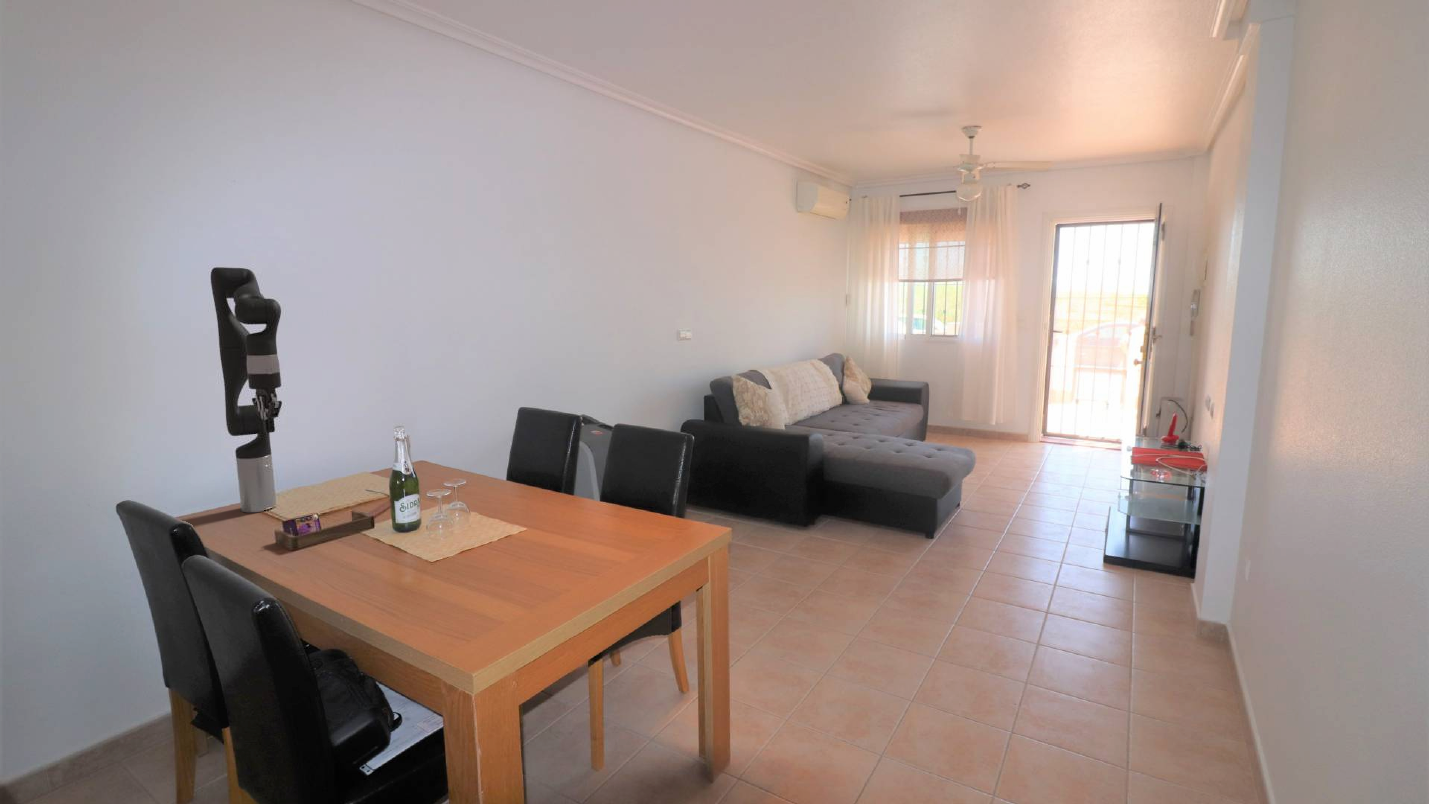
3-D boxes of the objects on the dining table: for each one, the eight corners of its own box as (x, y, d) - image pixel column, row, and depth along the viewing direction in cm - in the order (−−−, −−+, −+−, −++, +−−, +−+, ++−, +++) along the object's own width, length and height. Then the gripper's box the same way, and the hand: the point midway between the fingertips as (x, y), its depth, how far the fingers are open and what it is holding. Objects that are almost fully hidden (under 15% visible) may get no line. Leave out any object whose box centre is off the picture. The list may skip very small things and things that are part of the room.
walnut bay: (275, 542, 183) (274, 530, 183) (355, 520, 201) (354, 509, 201) (294, 550, 178) (293, 538, 177) (374, 527, 196) (373, 516, 195)
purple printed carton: (283, 520, 181) (318, 512, 188) (276, 523, 185) (312, 515, 192) (288, 545, 181) (324, 536, 188) (281, 547, 184) (317, 538, 191)
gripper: (237, 370, 186) (244, 431, 189) (259, 373, 179) (265, 437, 181) (267, 368, 192) (273, 427, 195) (289, 371, 185) (295, 432, 188)
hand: (269, 432), depth 188 cm, fingers closed
